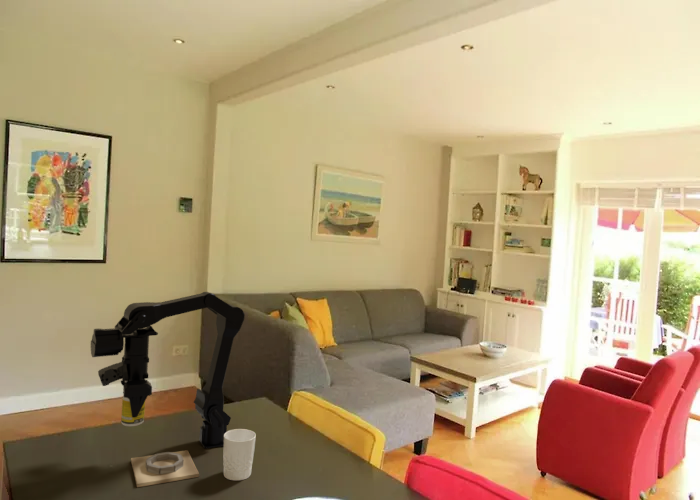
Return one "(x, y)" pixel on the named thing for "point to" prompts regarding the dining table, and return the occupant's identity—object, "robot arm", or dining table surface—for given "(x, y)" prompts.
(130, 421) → the supplement bottle
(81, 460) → the dining table surface
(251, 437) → the white cup
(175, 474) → the board
